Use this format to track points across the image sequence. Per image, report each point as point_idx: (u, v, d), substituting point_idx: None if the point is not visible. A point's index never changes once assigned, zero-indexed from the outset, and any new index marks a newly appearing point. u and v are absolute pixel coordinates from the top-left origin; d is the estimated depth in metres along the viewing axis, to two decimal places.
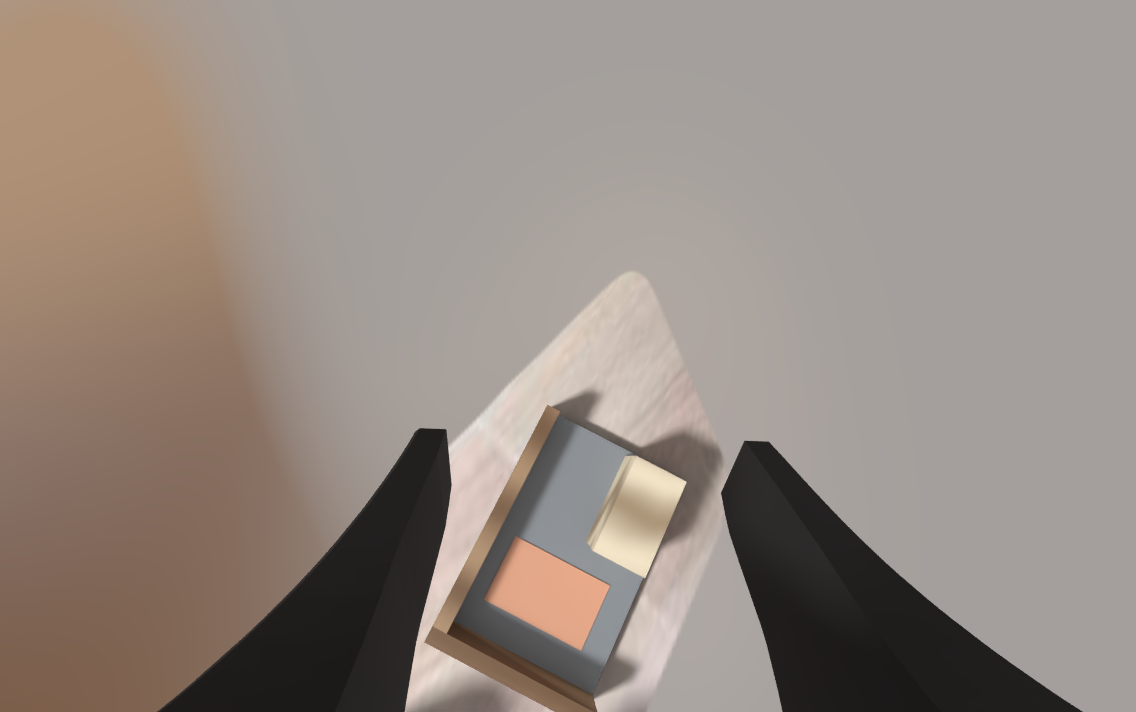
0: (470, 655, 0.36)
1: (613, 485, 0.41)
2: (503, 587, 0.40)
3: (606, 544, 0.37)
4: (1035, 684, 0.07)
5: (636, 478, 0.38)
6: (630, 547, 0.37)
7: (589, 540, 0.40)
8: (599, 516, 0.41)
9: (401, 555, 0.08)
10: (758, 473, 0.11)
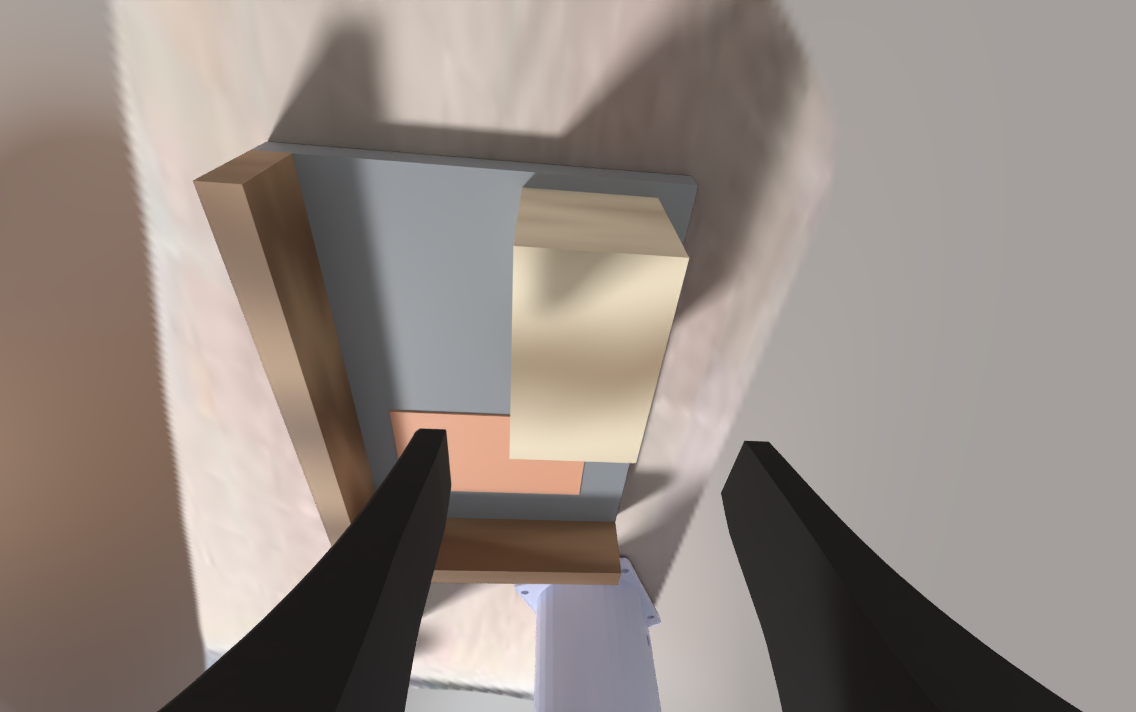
0: None
1: None
2: None
3: (531, 442, 0.16)
4: (1035, 684, 0.07)
5: (539, 302, 0.13)
6: (585, 431, 0.16)
7: None
8: None
9: (401, 555, 0.08)
10: (758, 473, 0.11)
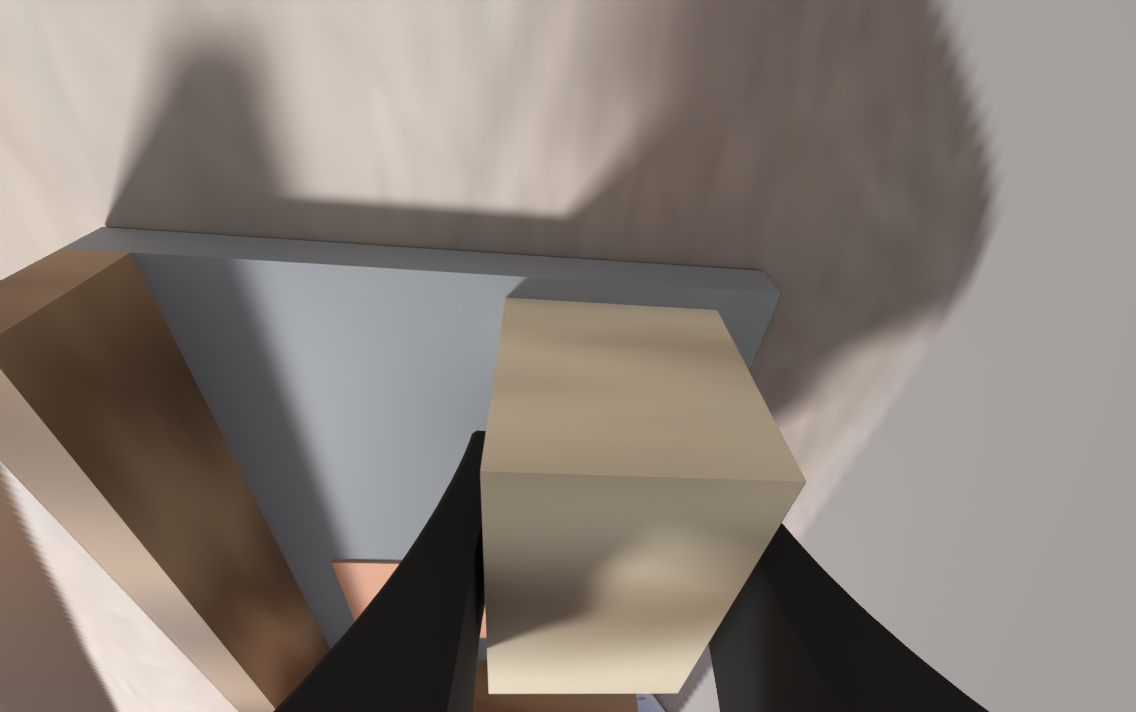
0: None
1: None
2: None
3: (521, 679, 0.11)
4: (946, 684, 0.06)
5: (531, 540, 0.07)
6: (604, 668, 0.10)
7: None
8: None
9: (476, 557, 0.08)
10: None
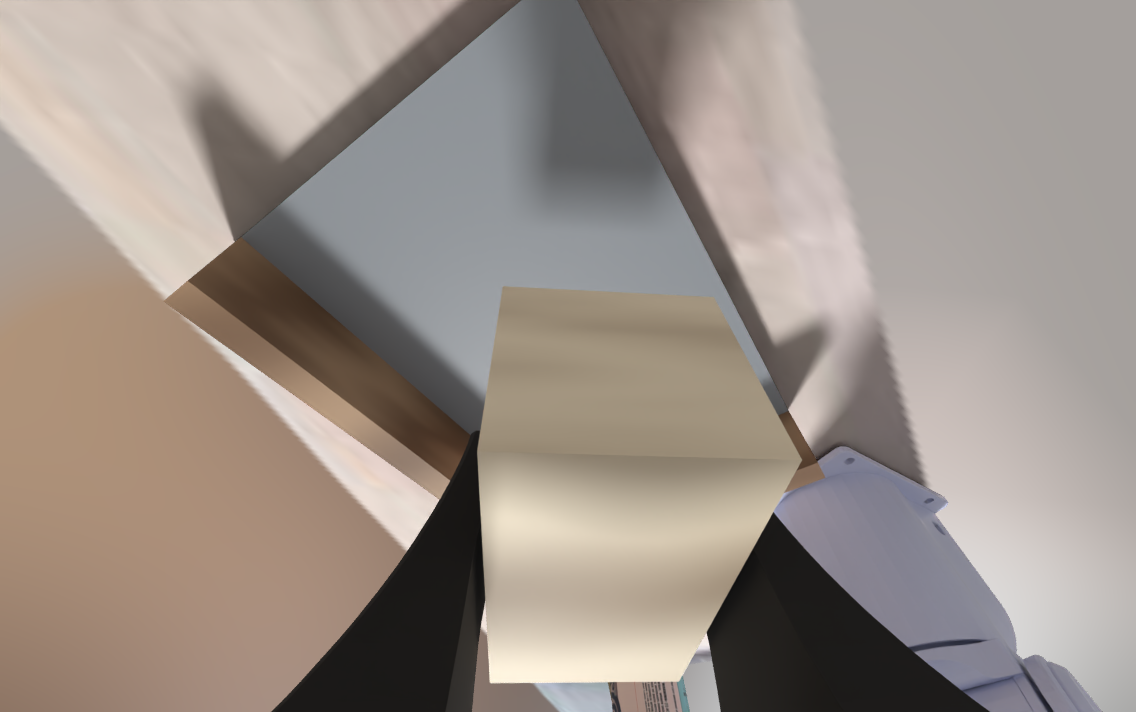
0: None
1: None
2: None
3: (522, 668, 0.11)
4: (947, 684, 0.06)
5: (529, 522, 0.07)
6: (605, 656, 0.10)
7: None
8: None
9: (476, 557, 0.08)
10: None
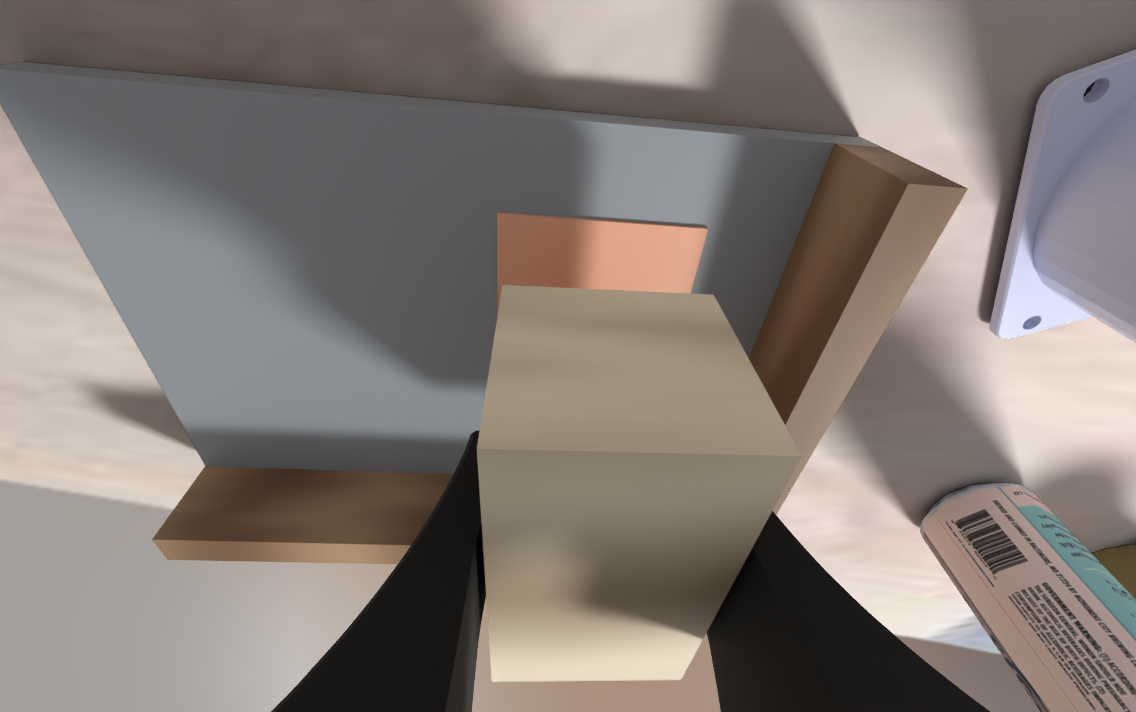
0: None
1: None
2: None
3: (523, 666, 0.11)
4: (947, 684, 0.06)
5: (529, 520, 0.07)
6: (606, 654, 0.10)
7: None
8: None
9: (476, 557, 0.08)
10: None
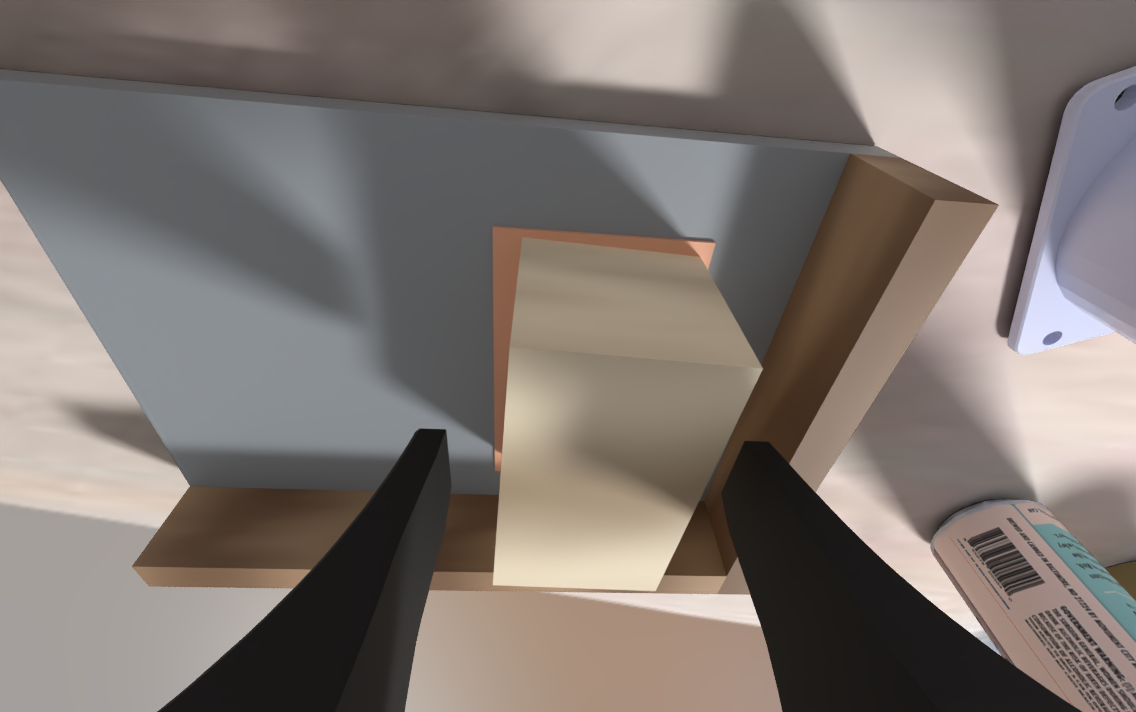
0: None
1: None
2: None
3: (522, 569, 0.12)
4: (1035, 684, 0.07)
5: (543, 417, 0.09)
6: (594, 559, 0.12)
7: None
8: None
9: (401, 556, 0.08)
10: (758, 473, 0.11)
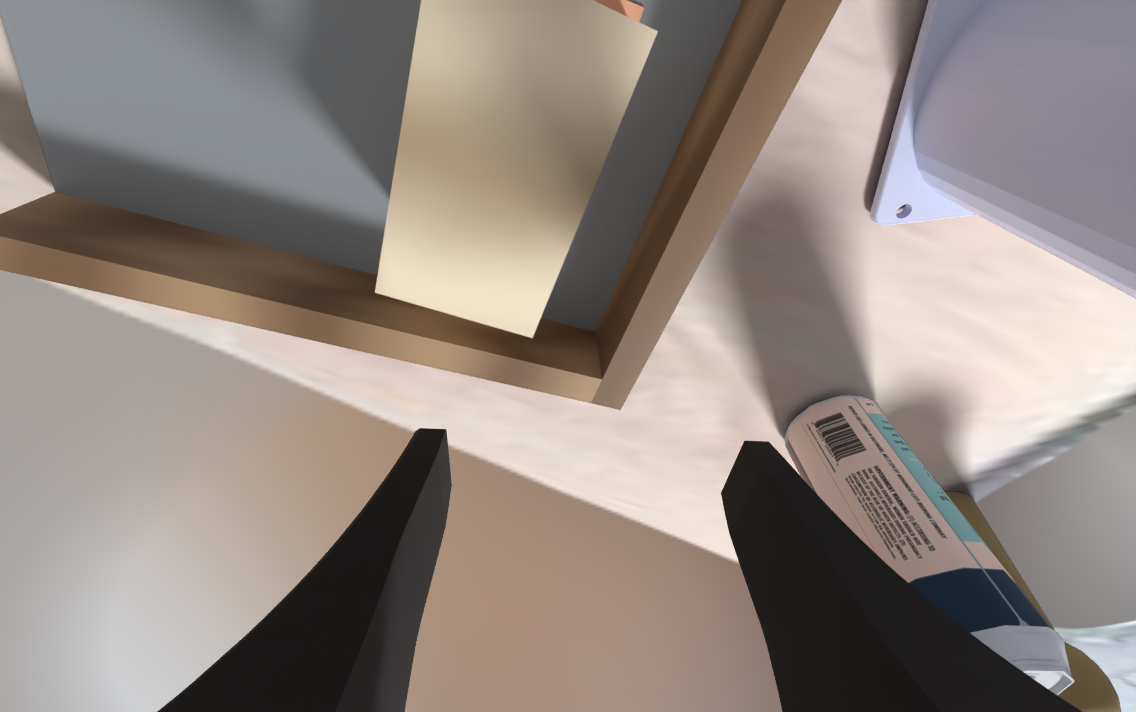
0: (641, 331, 0.16)
1: None
2: None
3: (407, 274, 0.13)
4: (1035, 684, 0.07)
5: (454, 41, 0.10)
6: (479, 275, 0.13)
7: None
8: None
9: (401, 555, 0.08)
10: (758, 473, 0.11)
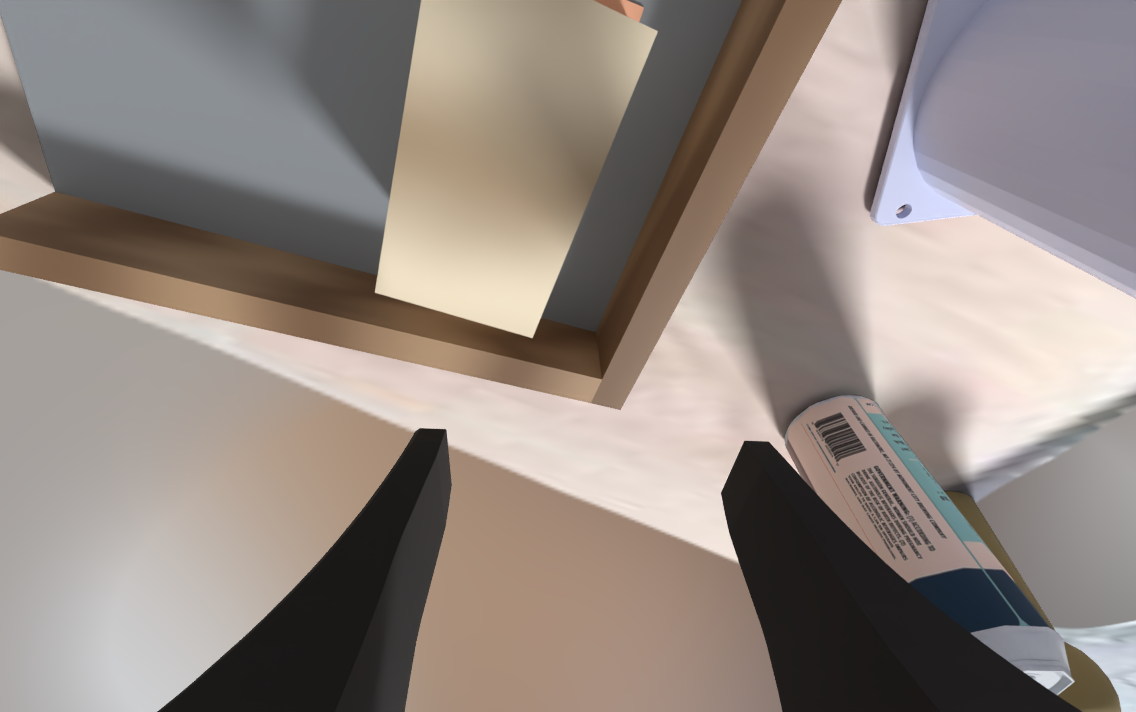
0: (641, 331, 0.16)
1: None
2: None
3: (407, 274, 0.13)
4: (1035, 684, 0.07)
5: (454, 41, 0.10)
6: (479, 275, 0.13)
7: None
8: None
9: (401, 555, 0.08)
10: (758, 473, 0.11)
